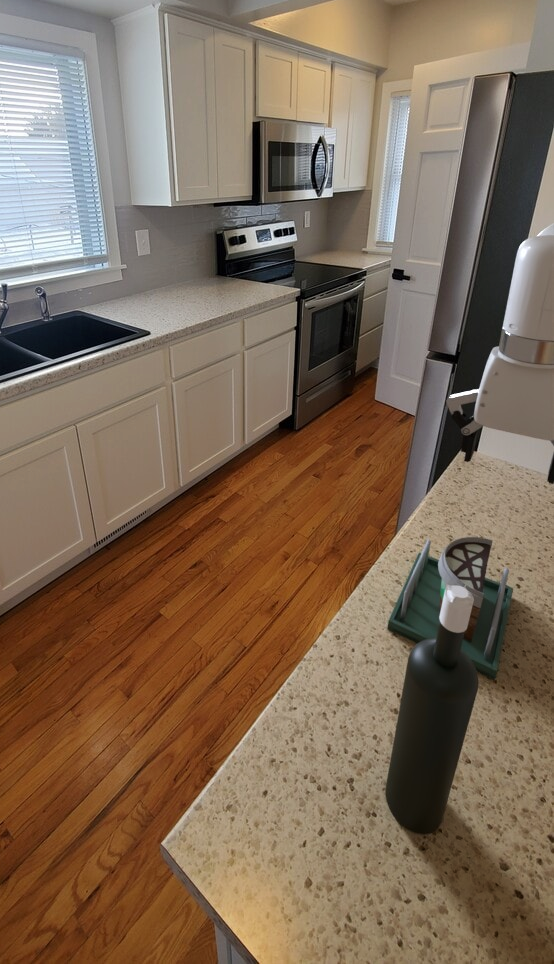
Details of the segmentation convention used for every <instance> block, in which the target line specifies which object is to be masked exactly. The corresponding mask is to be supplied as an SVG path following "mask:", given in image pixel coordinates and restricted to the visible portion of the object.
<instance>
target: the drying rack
mask: <svg viewBox="0 0 554 964" xmlns="http://www.w3.org/2000/svg"><path fill="white" fill-rule="evenodd" d="M431 543H432V541H431V540H430V539H427V540H426V542H425V544H424V547H423V548H422V551H421V552H418V554H417V556H416V557H415V560H414V562H413V565H412V567H411V569H410V571H409V573H408V576H407V578H406V581H405V583H404V585H403V587H402V589H401V591H400V593H399V595H398V598H397V601H396V603H395V605H394V607H393V609H392V612H391V614H390V615H389V618H388V621H387V627H386V629H387V630H388V631H390V632H392V633H394V634H396V635H398V636H401V637H403V638H405V639H407V640H409V641H410V642H413V643H415V644H418V643H419V642H421V641H423V640H426V639H432V638H436V637H437V633H438V628H439V623H440V619H439V616H440V612H439V602H440V591H441V581H442V578H441V576H440V573H439V570H438V562H439V559H438V558H436V557H432V556H430V555H429V554H430V549H431ZM509 573H510V570H509V568H508V567H505V568H503V572H502V576H501V580H500V582H498V581H496V580H493V579H490V578H488V577H485V581H484V586H483V593H484V595H483V600H482V604H481V608H480V611H479V615H478V618H477V622H476V626H475V630H474V634H473V638H472V642H470V641H468V640H465V639H464V638H463V642H462V646H461V649H462V650H463V651H464V652H465V653H466V654H467V655H468V656H469V658H470V659H471V660H472V662H473V664H474V666H475V668H476V671H477V674H478V673H479V674H480V675H482V676H484V677H486V678H489V679H491V680H493V681H495V680H496V678H497V673H498V670H499V664H500V660H501V655H502V650H503V645H504V640H505V633H506V628H507V624H508V618H509V614H510V609H511V608H510V607H511V604H512V603H511V602H512V598H513V592H514V587H512V586H509V585H507V582H508V577H509Z"/></svg>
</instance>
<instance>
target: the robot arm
mask: <svg viewBox="0 0 554 964" xmlns="http://www.w3.org/2000/svg"><path fill="white" fill-rule="evenodd" d="M511 276H512V277H511V283H510V287H509V291H508V298H507V303H506V308H505V312H504V313H505V314H504V318H503V324H502V328H501V333H500V338H499V343H498V346H495V347H492V349H491V351H490V354H489V356H488V358H487V360H486V364H485V367H484V371H483V373H482V378H481V380H480V384H479V388H476V389H472V390H467V391H463V392H459V393H454V394H450V395H449V396H448V397H447V398H446V400H445V402H446V406H447V407H448V410H449V413H450V415H451V419H452V421H454V422H455V424H457V426H458V427H459V429H460V432H461V434H462V435H463V436H462V440H461V441H462V442H461V448H460V452H461V453H465V454H464V460H463V462H465V463H469V462H471V461H472V458H473V455H474V453H475V449H476V443H477V439H478V432H479V430H480V429H481V428H483V427H484V428H488V429H492V430H496V431H501V432H505V433H510V434H515V435H520V436H523V437H529V438H534V439H538V440H543V441H549V442H550V443H551V445H552V446H553V447H554V222H553V223H551V224H550V225H548V226H547V227H545V228H544V229H543V230H541V231H540V232H539V234H537V235H536V236H532V237H529V238H526V239H525V240H524V241H522V243H521V244H520V245H519V247H518V249H517V251H516V256H515V261H514V266H513V272H512V275H511ZM470 403H475V405H474V412H473V415H472V416H470V417H469V415H468V414H467V413H466V412H465V410H464V409H463V408H462V406H463V405H466V404H470ZM546 482H548V484H551V485H554V452H553V453H552V457H551V461H550V464H549V468H548V472H547V480H546Z"/></svg>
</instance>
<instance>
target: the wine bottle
mask: <svg viewBox="0 0 554 964" xmlns="http://www.w3.org/2000/svg"><path fill="white" fill-rule="evenodd" d="M465 587H466V585H465V586H464V587H462V586H457V585H456V586H450V585H448V584H447V586H446V589H445V592H444V597H443V602H442V607H441V611H440V616H439V619H440V623H439V628H438V633H437V637H436V638H432V639H426V640H423V641H421V642H419V643H418V644H417V643H415V645H414V646H413V647H412V649H411V650H410V652H409V653H408V654H409V655H408V656H407V657H408V659H407V663H406V667H405V674H404V681H403V685H402V691H401V697H400V703H399V708H398V715H397V720H396V726H395V731H394V738H393V742H392V749H391V755H390V761H389V766H388V771H387V776H386V783H385V790H384V791H385V792H384V793H385V800H386V804H387V806H388V809H389V811H390V812H391V814H392V816H393V817H394V819H395V820H396V821H397V822H398V824H400V826H402V827H403V828H405V829H406V830H408V831H409V832H412V833H415V834H417V835H429V834H432V833H434V832H436V830H438V829H439V828H440V826H441V825H442V822H443V820H444V816H445V811H446V808H447V804H448V801H449V797H450V793H451V789H452V785H453V782H454V780H455V775H456V771H457V767H458V764H459V760H460V756H461V753H462V749H463V746H464V742H465V738H466V735H467V731H468V727H469V724H470V719H471V717H472V713H473V709H474V705H475V701H476V698H477V694H478V691H479V684H480V683H479V674H478V672H477V671H476V668H475V666H474V664H473V662H472V660H471V659H470V658H469V656H468V655H467V654H466V653H465V652H464V651H463V650H462V649H461V646H462V642H463V637H464V633H465V630H466V629H467V626H468V622H469V618H470V614H471V610H472V605H473V601H474V599H473V596H472V594H471V593H470V592H469V591H468V590H466V588H465Z"/></svg>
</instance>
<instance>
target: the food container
mask: <svg viewBox="0 0 554 964" xmlns="http://www.w3.org/2000/svg"><path fill="white" fill-rule="evenodd" d="M493 541H494V540H493V539H489V538H487V537H480V536H479V537H478V536H465V537H461V538H457V539H455V540H453V541H451V542H450V543H449V544H448V545H447V546H446V547H444V549H443V551H442V553H441V554H440V557H439V559H438V560H439V562H438V570H439V573H440V576H441V578H442V581H441V591H440V602H439V612H440V611H441V607H442V602H443V597H444V592H445V589H446V586H447V584H448V585H450V586H456V585H457V586H462V587H464V586H465V585H466V587H465V588H466V590H468V591H469V592H470V593H471V594H472V596H473V599H474V601H473V605H472V610H471V614H470V618H469V622H468V626H467V629H466V630H465V633H464V637H463V638H464V639H465V640H468V641H470V642H472V638H473V634H474V630H475V626H476V622H477V618H478V615H479V611H480V608H481V604H482V600H483V595H484V593H483V586H484V581H485V578H486V574H487V568H488V563H489V559H490V554H491V550H492V546H493Z"/></svg>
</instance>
